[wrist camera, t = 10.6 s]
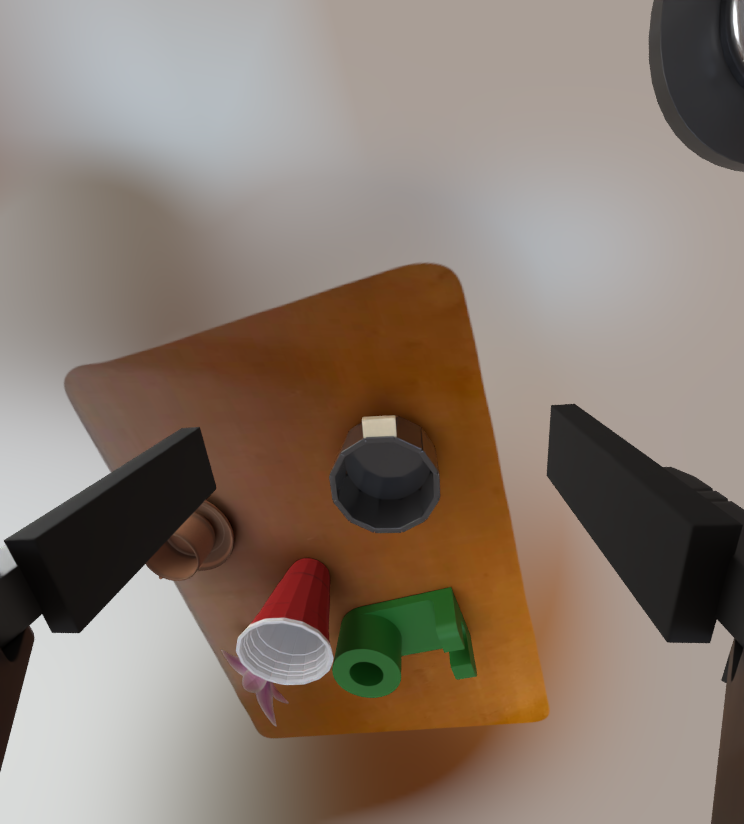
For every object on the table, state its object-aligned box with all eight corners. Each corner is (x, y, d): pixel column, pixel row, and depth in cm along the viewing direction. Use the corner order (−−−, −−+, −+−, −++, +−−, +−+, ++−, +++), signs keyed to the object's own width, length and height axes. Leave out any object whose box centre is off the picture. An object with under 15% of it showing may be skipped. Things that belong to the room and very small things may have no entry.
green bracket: (354, 656, 55) (348, 702, 49) (331, 613, 52) (321, 655, 46) (470, 634, 51) (478, 681, 45) (451, 587, 49) (457, 629, 43)
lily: (238, 603, 55) (192, 673, 49) (296, 630, 49) (253, 713, 43) (272, 636, 62) (236, 700, 56) (327, 662, 56) (294, 737, 50)
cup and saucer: (235, 569, 51) (213, 605, 46) (155, 548, 52) (122, 581, 46) (243, 500, 47) (220, 530, 41) (156, 478, 47) (121, 504, 42)
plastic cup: (311, 615, 53) (284, 704, 42) (258, 568, 51) (215, 649, 40) (365, 581, 50) (352, 668, 39) (311, 530, 48) (281, 605, 37)
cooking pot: (436, 499, 43) (441, 532, 37) (346, 501, 44) (337, 533, 38) (433, 397, 39) (437, 416, 33) (333, 403, 40) (321, 422, 34)
